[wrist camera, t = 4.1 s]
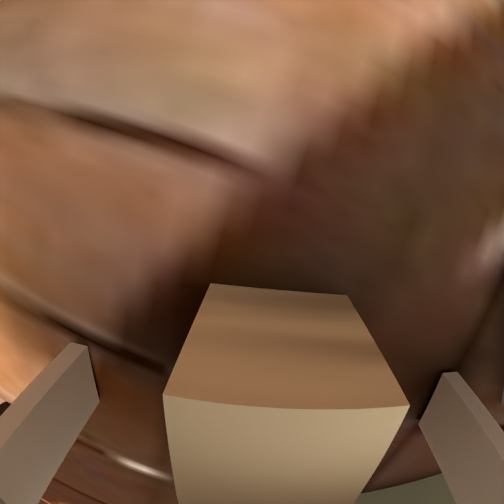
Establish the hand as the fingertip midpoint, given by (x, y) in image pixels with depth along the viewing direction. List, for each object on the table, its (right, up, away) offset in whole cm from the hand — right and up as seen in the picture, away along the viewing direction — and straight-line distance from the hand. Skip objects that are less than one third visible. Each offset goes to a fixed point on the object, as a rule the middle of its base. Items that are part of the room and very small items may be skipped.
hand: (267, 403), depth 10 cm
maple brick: (0, 0, 0) cm, 0 cm away
